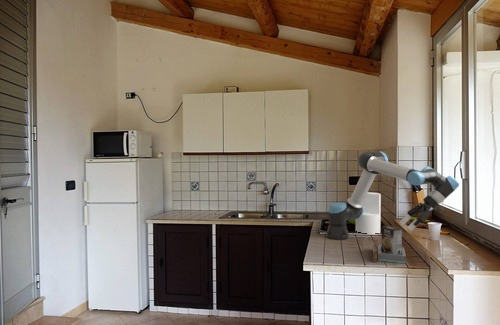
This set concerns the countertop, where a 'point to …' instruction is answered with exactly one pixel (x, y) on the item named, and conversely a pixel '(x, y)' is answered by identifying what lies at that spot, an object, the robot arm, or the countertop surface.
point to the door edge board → (375, 250)
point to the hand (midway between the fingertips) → (405, 226)
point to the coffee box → (391, 240)
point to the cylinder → (370, 214)
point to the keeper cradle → (391, 256)
